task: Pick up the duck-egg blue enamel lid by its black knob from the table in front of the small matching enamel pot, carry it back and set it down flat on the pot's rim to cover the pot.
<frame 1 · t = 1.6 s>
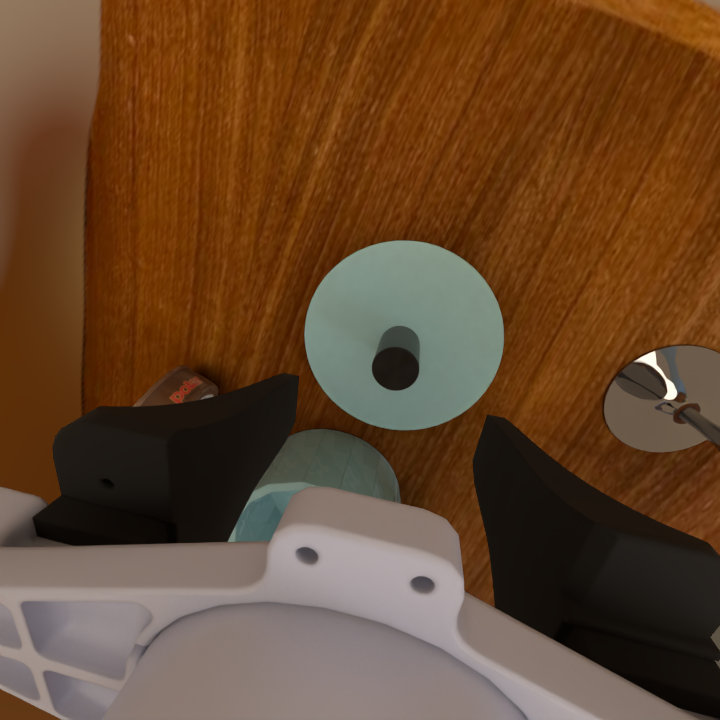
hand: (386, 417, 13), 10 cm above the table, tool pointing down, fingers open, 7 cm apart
wine glass: (667, 399, 21), on the table
pot: (330, 488, 28), on the table
lid: (400, 342, 22), point 1 cm above the table
tin: (188, 430, 28), on the table
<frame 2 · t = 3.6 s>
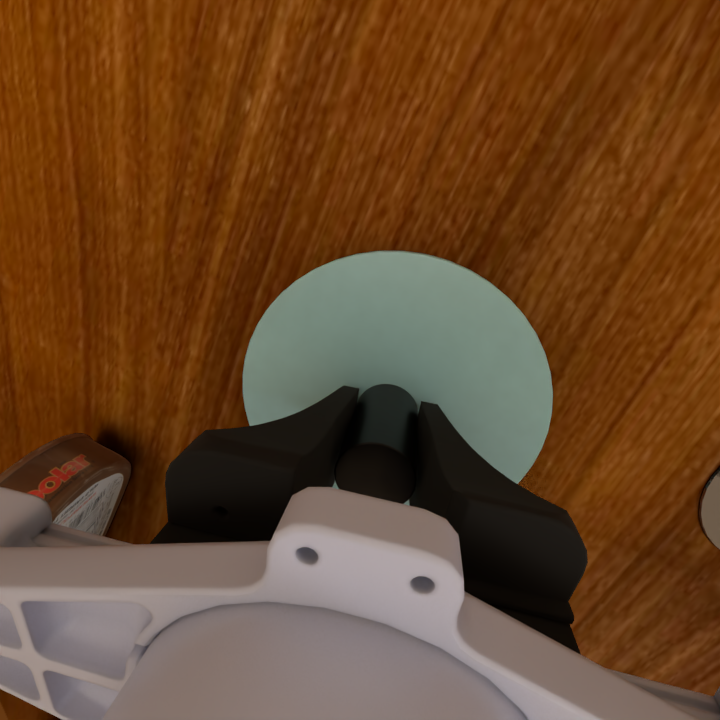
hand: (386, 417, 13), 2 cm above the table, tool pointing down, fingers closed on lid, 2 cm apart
lid: (388, 405, 14), point 1 cm above the table, touching gripper
tin: (101, 507, 21), on the table
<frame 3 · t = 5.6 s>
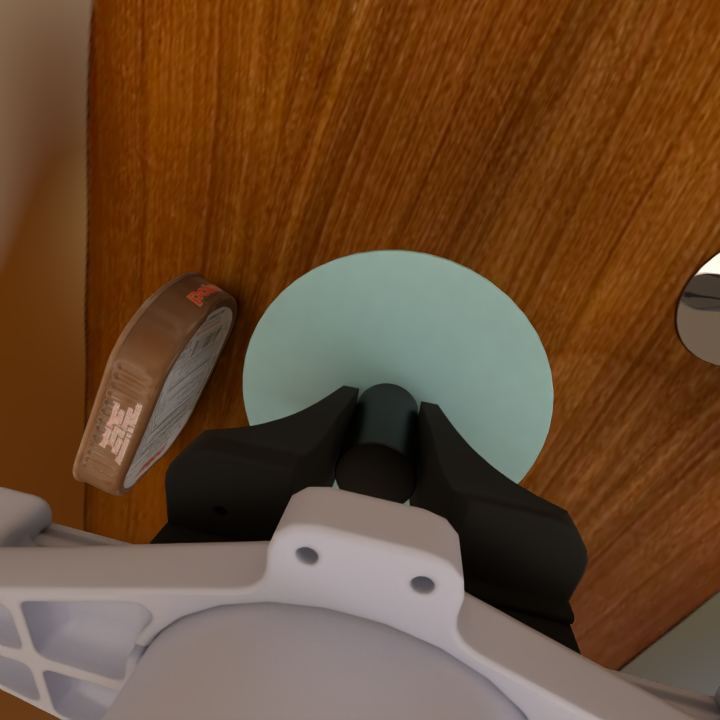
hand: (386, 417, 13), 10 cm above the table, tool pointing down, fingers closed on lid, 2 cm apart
lid: (388, 404, 14), point 9 cm above the table, touching gripper
tin: (202, 363, 26), on the table
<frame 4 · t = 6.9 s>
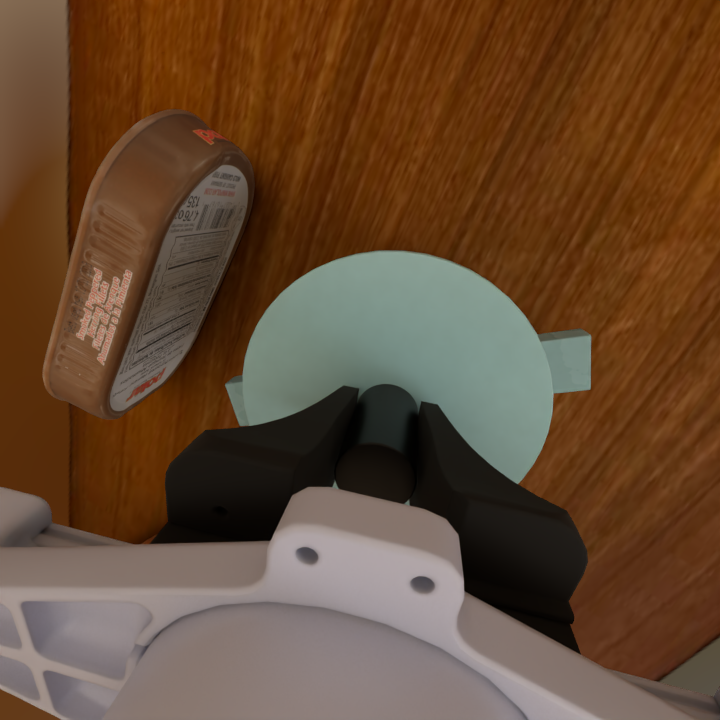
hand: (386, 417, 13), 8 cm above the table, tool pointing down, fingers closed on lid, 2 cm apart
pot: (398, 349, 21), on the table
lid: (388, 405, 14), point 7 cm above the table, touching gripper
tin: (209, 275, 21), on the table
when the fingers open (7 cm above the table, at t = 7.5 s): lid stays where it is, resting on pot.
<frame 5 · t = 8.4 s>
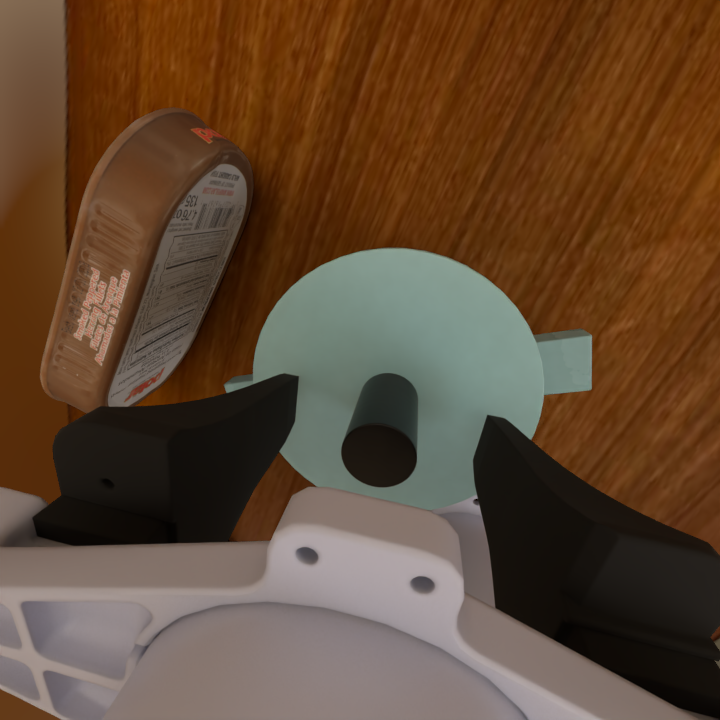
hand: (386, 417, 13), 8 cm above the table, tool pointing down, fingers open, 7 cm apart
pot: (398, 349, 21), on the table
lid: (389, 393, 15), point 6 cm above the table, touching pot
tin: (208, 274, 21), on the table
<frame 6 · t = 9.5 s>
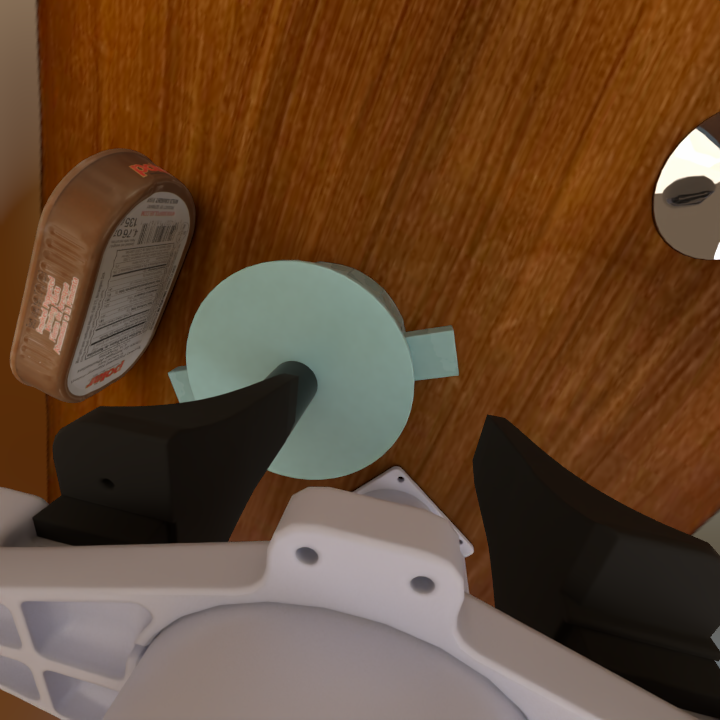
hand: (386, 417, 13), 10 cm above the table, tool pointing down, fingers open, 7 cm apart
pot: (326, 344, 24), on the table
lid: (298, 378, 19), point 6 cm above the table, touching pot
tin: (163, 280, 25), on the table
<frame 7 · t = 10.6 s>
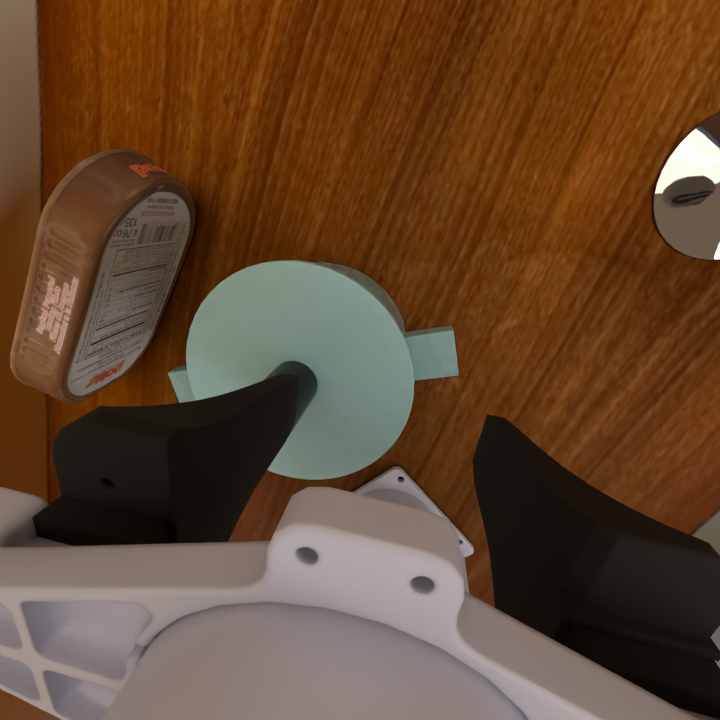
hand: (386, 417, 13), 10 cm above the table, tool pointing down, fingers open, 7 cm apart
pot: (326, 344, 24), on the table
lid: (298, 378, 19), point 6 cm above the table, touching pot
tin: (163, 280, 25), on the table
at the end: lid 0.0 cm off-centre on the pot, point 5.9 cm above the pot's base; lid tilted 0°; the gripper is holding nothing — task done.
